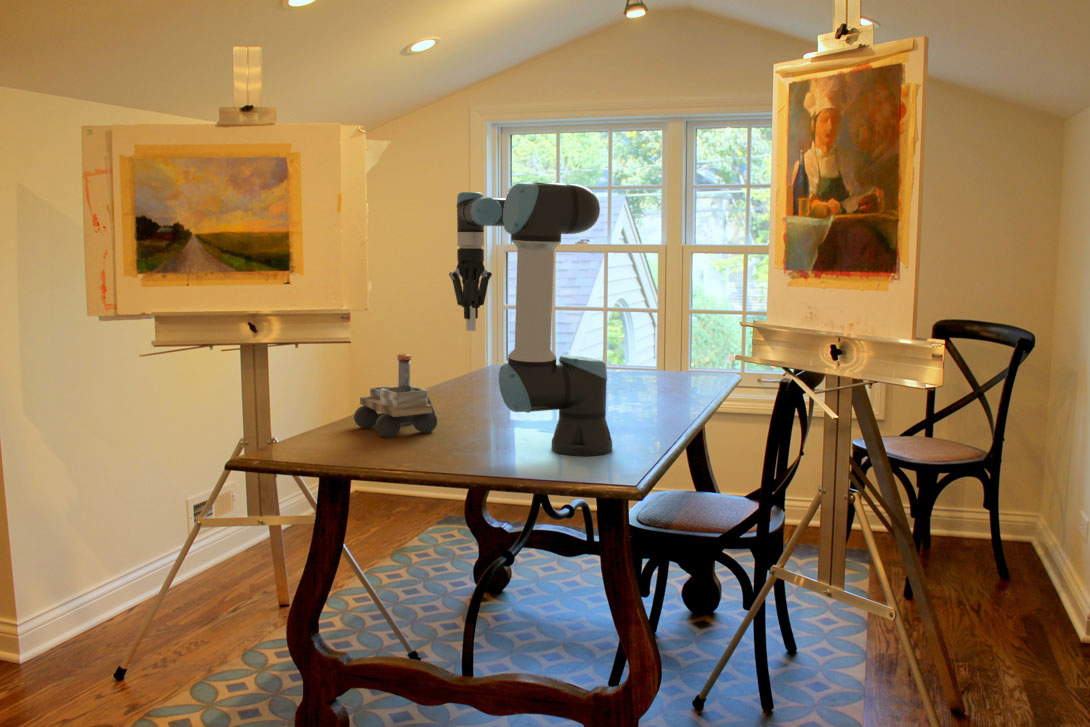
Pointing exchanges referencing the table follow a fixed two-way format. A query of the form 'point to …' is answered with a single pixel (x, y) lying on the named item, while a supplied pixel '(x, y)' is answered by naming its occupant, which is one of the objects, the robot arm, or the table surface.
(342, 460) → the table surface
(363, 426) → the cart
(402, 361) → the pin
